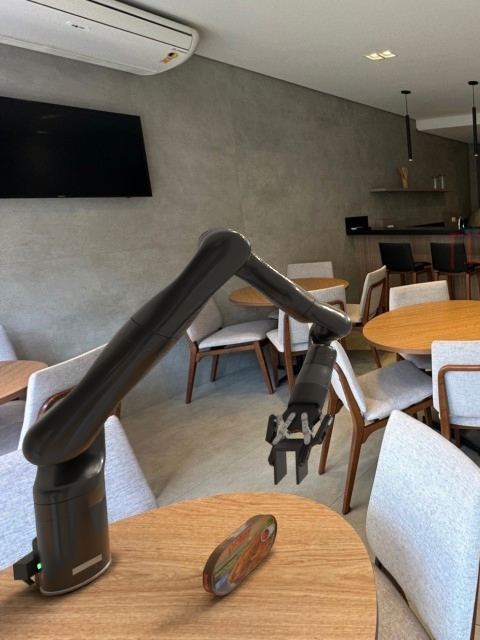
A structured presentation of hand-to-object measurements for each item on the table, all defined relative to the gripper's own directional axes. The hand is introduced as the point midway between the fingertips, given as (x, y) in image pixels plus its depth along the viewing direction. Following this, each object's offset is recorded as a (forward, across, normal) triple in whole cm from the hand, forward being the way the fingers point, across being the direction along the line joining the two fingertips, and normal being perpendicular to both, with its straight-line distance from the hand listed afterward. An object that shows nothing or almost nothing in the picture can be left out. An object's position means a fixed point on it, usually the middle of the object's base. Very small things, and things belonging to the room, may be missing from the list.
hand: (286, 465), depth 86 cm
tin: (+17, -5, +7) cm, 19 cm away
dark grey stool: (+2, 0, +4) cm, 5 cm away
